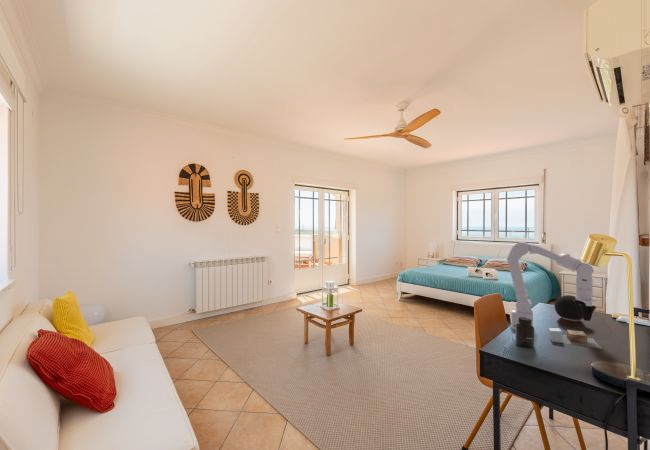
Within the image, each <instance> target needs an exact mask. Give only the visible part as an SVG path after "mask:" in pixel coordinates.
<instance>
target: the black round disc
mask: <svg viewBox="0 0 650 450" xmlns="http://www.w3.org/2000/svg"><path fill="white" fill-rule="evenodd" d="M574 299H575V300H577V299H576V295H575V296H574V295H571V294H569V295H562V296H559V298H557V299H556V300H555V301H554V310H555V312H556V313H557V315H558V317H559V318H558V319H557V320H556V323H557V324H559V325H561V326H564V327H568V326H569V327H570V328H574V327H583V328H585V326H586V324H585V323H584V322H583V321H581V320H584V319H583V316H579V314H578V310H577V307H576V304H575V302H574ZM569 327H568V328H569Z"/></svg>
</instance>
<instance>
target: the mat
mask: <svg viewBox="0 0 650 450" xmlns="http://www.w3.org/2000/svg"><path fill="white" fill-rule="evenodd" d="M562 337H563V343H562V344H566V345H567V344H568V345H575V346H581V347H582V346H583V347H588V348H590V347H591V348H595V349H596V348H597V349H602V346H600V344H598V342H596V340H595V339H594V338H592V337H587V344H583V343H576V342H570V341H569V339H568V338H567V334H562Z"/></svg>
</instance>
